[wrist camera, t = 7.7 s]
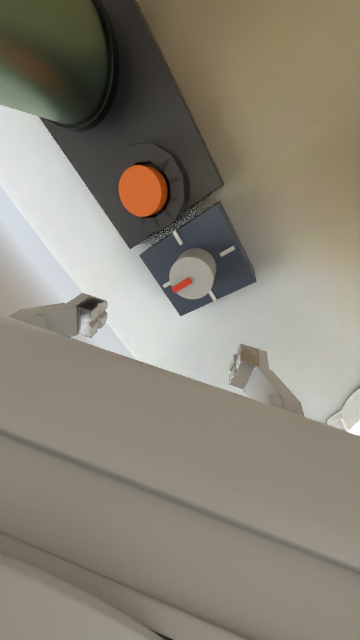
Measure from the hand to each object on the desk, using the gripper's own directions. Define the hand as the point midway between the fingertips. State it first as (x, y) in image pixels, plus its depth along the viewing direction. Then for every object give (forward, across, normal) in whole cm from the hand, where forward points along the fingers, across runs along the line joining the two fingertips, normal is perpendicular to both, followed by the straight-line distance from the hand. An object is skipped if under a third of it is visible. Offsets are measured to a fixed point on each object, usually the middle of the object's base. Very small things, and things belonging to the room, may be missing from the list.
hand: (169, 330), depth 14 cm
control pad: (+14, 0, 0) cm, 14 cm away
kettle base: (+14, +10, -10) cm, 20 cm away
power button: (+10, +6, -6) cm, 13 cm away
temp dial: (+11, 0, 0) cm, 11 cm away
